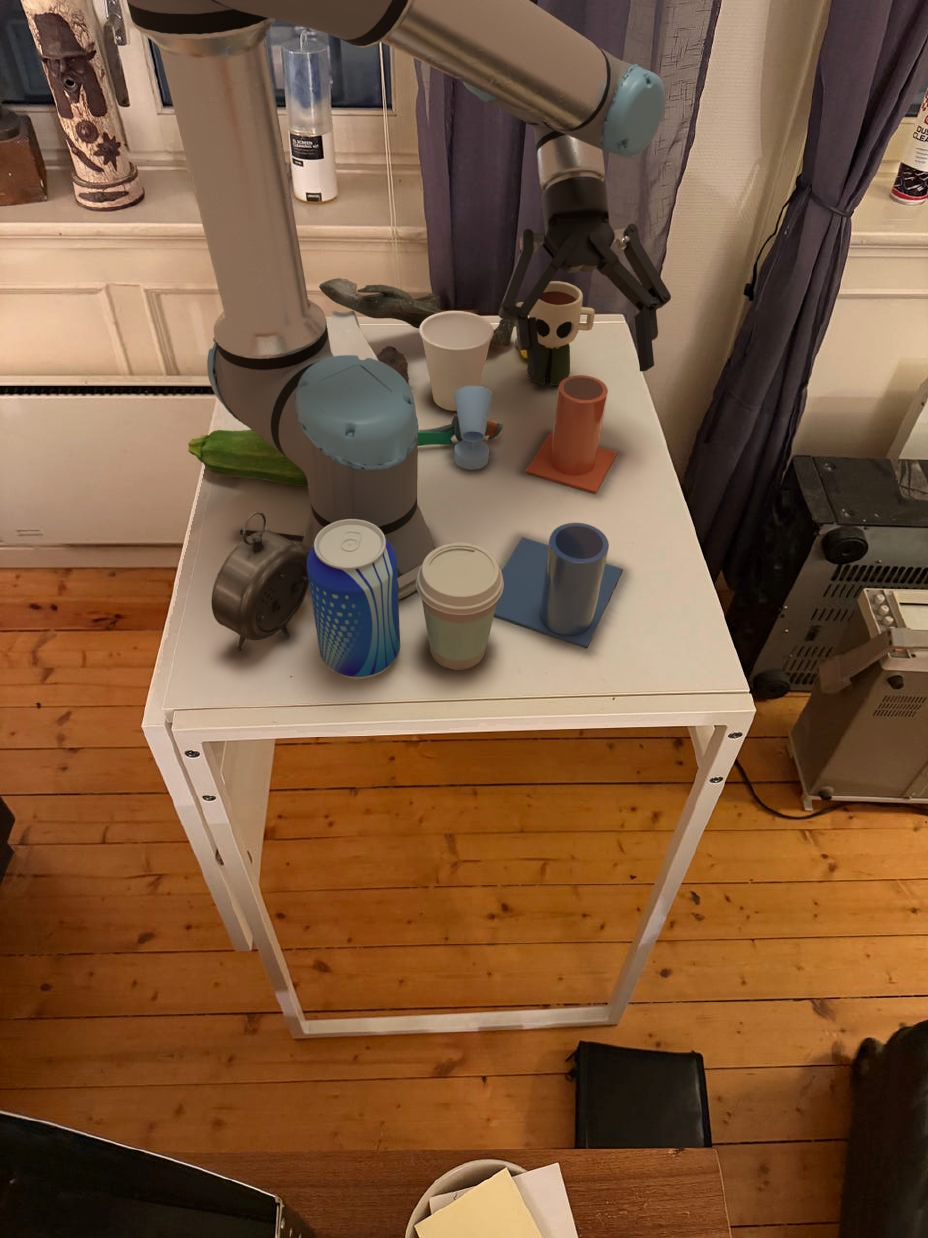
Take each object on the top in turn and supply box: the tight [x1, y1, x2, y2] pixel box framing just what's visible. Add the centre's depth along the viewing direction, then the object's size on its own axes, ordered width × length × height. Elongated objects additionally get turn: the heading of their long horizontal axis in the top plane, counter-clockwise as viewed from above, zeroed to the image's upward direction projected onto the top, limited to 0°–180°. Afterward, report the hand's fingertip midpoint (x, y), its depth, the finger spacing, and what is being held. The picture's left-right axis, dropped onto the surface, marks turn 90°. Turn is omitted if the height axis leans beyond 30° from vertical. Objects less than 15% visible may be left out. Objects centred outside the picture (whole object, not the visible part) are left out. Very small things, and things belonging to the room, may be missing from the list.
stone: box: [376, 345, 410, 385], centre depth 126 cm, size 11×2×5 cm
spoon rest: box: [327, 310, 379, 361], centre depth 123 cm, size 24×12×7 cm, turn 6°
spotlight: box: [453, 385, 494, 471], centre depth 111 cm, size 5×10×7 cm
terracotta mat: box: [525, 433, 618, 495], centre depth 114 cm, size 10×9×1 cm
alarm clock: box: [210, 510, 310, 653], centre depth 87 cm, size 11×5×16 cm, turn 148°
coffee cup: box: [416, 542, 504, 671], centre depth 88 cm, size 8×8×12 cm
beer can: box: [307, 519, 401, 680], centre depth 86 cm, size 8×8×16 cm
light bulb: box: [514, 337, 528, 360], centre depth 131 cm, size 3×6×4 cm
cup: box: [418, 310, 495, 412], centre depth 119 cm, size 10×10×11 cm
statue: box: [318, 277, 516, 347], centre depth 127 cm, size 10×6×30 cm
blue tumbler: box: [539, 522, 610, 636], centre depth 91 cm, size 6×6×11 cm
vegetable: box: [187, 429, 308, 488], centre depth 108 cm, size 7×7×20 cm
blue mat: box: [494, 536, 624, 649], centre depth 98 cm, size 13×13×1 cm
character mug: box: [515, 280, 596, 386], centre depth 123 cm, size 11×7×13 cm, turn 83°
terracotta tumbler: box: [550, 374, 609, 475], centre depth 110 cm, size 6×6×11 cm
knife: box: [418, 413, 504, 447], centre depth 114 cm, size 20×2×5 cm, turn 105°
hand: (591, 373), depth 101 cm, fingers open, 13 cm apart
